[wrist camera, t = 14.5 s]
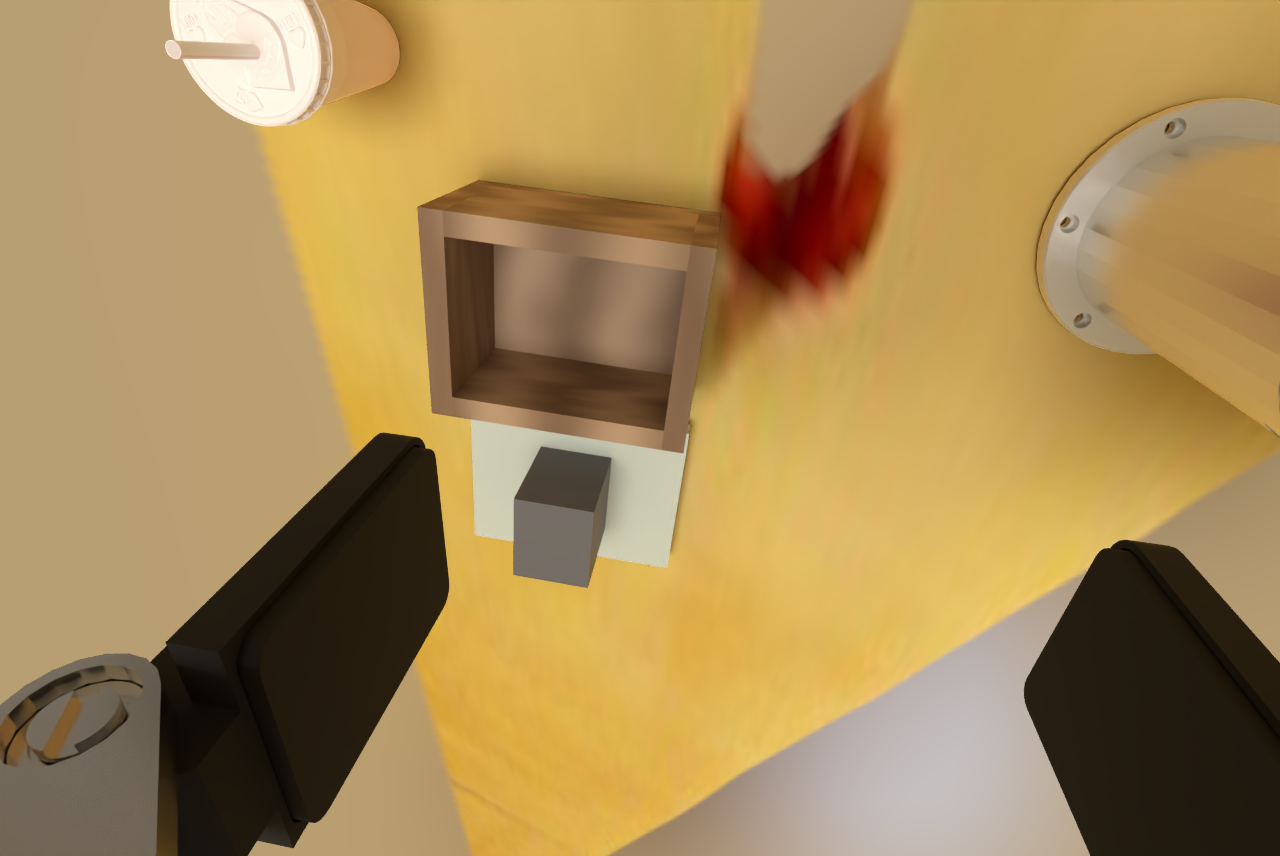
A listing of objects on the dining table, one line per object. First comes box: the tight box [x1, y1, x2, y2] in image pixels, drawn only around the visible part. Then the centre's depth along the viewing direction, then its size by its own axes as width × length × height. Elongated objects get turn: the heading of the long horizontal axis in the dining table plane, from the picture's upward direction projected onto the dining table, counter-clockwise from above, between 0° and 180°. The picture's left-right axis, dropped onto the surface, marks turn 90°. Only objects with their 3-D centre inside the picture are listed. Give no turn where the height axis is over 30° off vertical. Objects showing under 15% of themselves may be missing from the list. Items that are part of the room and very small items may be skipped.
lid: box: [471, 419, 690, 588], centre depth 42 cm, size 14×11×8 cm
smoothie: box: [165, 0, 400, 126], centre depth 28 cm, size 6×6×14 cm
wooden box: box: [417, 180, 721, 453], centre depth 35 cm, size 14×11×8 cm
